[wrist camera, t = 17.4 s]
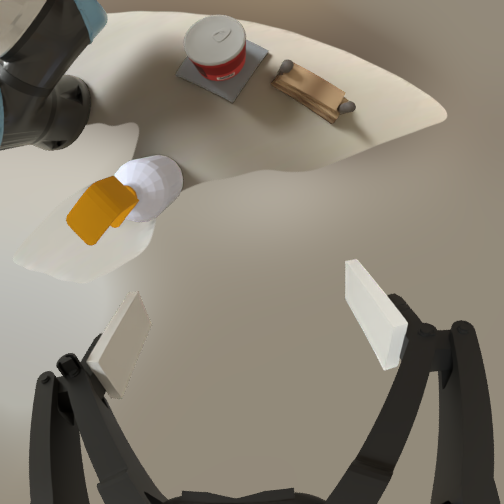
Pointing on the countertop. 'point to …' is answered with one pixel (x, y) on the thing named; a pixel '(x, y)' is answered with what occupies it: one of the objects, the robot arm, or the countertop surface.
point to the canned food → (216, 47)
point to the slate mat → (230, 86)
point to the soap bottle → (126, 196)
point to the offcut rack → (312, 91)
